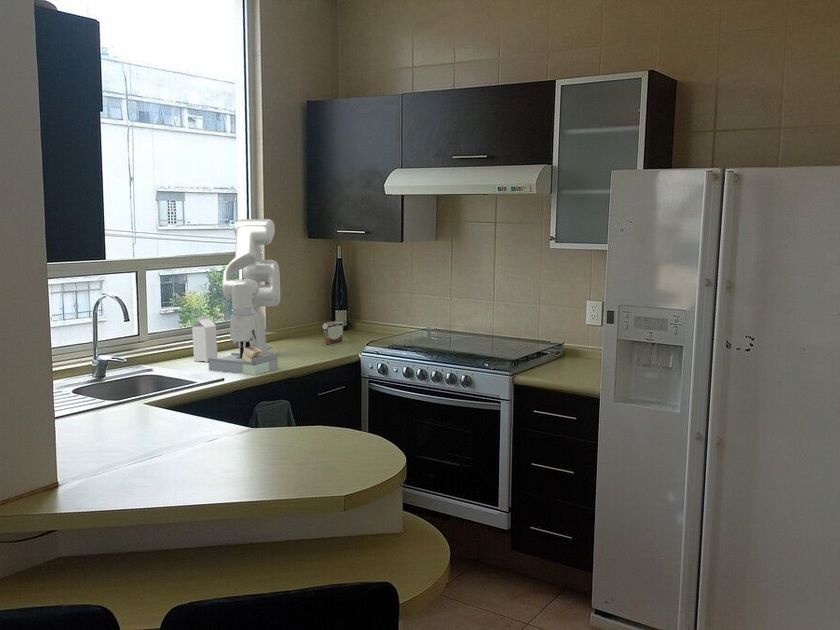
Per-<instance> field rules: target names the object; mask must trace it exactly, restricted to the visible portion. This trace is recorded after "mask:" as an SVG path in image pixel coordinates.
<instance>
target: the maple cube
mask: <svg viewBox="0 0 840 630" xmlns="http://www.w3.org/2000/svg"><path fill="white" fill-rule="evenodd" d="M261 354H262V351H261V350H259V349H258V348H256V347H254V346H251V347H246V348H244V351H243V356H242V360H243V361H246V362H253V359H254V358H258V357H261Z"/></svg>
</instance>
